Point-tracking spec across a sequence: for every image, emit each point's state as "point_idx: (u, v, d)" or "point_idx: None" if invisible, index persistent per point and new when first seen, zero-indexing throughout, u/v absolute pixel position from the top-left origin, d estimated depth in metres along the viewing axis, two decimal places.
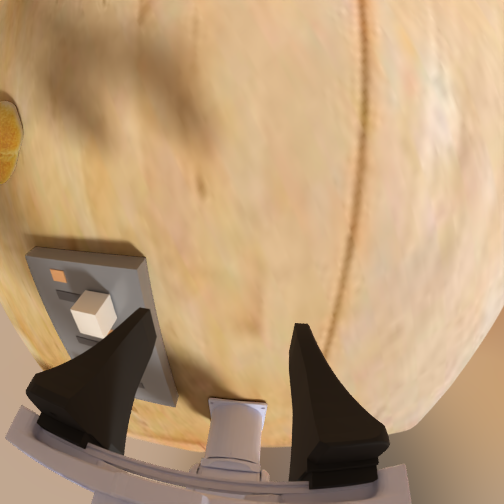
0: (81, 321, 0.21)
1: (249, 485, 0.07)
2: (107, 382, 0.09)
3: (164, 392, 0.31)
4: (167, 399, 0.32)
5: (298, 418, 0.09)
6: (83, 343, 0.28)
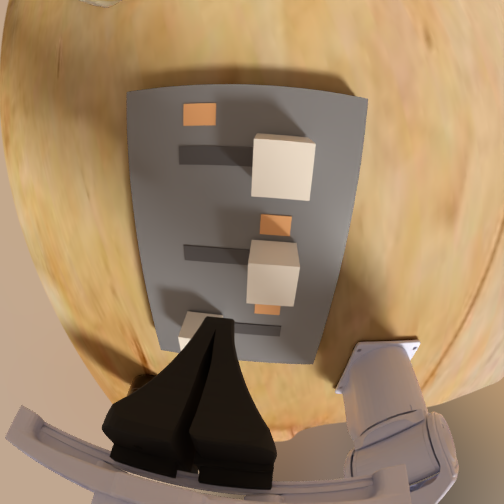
0: (270, 164, 0.13)
1: None
2: (193, 402, 0.09)
3: (312, 337, 0.23)
4: (308, 351, 0.24)
5: None
6: (195, 259, 0.20)
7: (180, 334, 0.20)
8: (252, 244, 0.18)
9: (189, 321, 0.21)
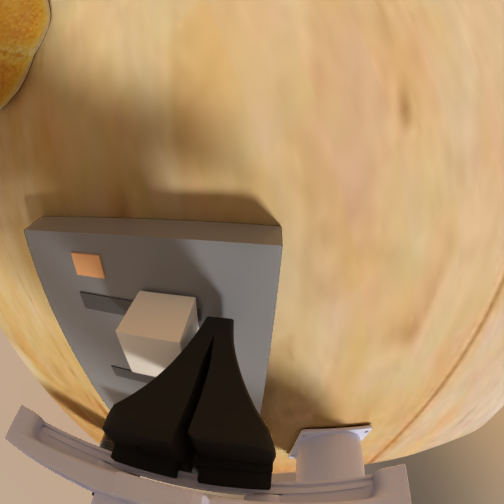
0: (139, 353, 0.11)
1: None
2: (195, 402, 0.09)
3: None
4: None
5: None
6: (124, 376, 0.18)
7: None
8: None
9: None
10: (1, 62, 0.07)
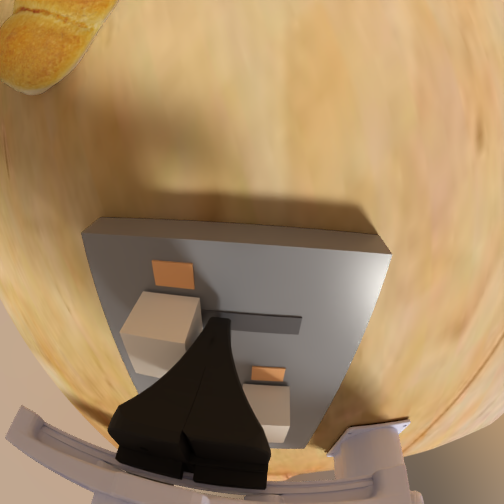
0: (143, 354, 0.11)
1: None
2: None
3: (303, 435, 0.21)
4: (300, 442, 0.22)
5: None
6: None
7: None
8: None
9: None
10: (60, 30, 0.07)
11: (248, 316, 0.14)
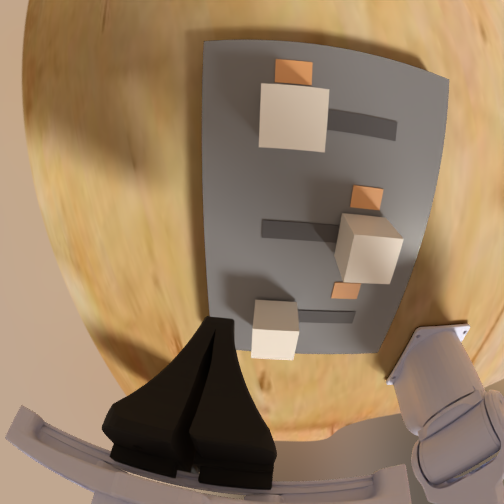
0: (280, 110, 0.11)
1: None
2: (193, 402, 0.09)
3: (383, 322, 0.21)
4: (376, 338, 0.22)
5: None
6: (274, 236, 0.18)
7: (254, 325, 0.18)
8: (346, 217, 0.16)
9: (260, 310, 0.19)
10: None
11: (355, 117, 0.14)
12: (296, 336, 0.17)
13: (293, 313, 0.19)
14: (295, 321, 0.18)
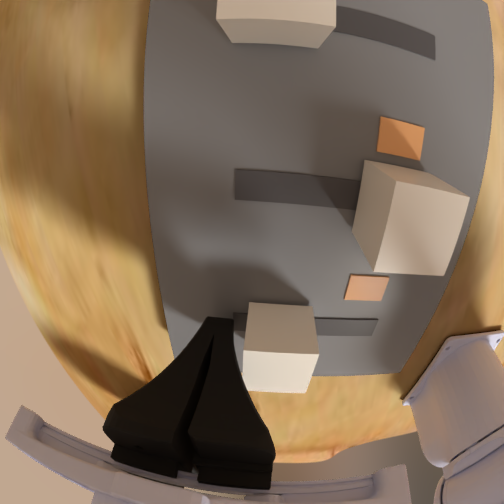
0: None
1: None
2: (194, 402, 0.09)
3: (412, 333, 0.14)
4: (401, 354, 0.15)
5: None
6: (255, 197, 0.11)
7: (247, 345, 0.11)
8: (372, 164, 0.09)
9: (257, 319, 0.12)
10: None
11: (375, 20, 0.07)
12: (313, 361, 0.11)
13: (308, 324, 0.12)
14: (311, 337, 0.11)
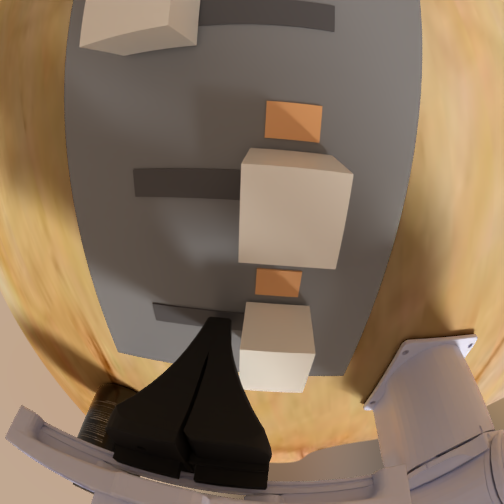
0: None
1: None
2: None
3: (347, 334, 0.14)
4: (339, 356, 0.15)
5: None
6: (152, 193, 0.11)
7: (243, 344, 0.11)
8: (251, 150, 0.09)
9: (254, 319, 0.12)
10: None
11: (261, 3, 0.07)
12: (310, 361, 0.11)
13: (305, 324, 0.12)
14: (308, 337, 0.11)
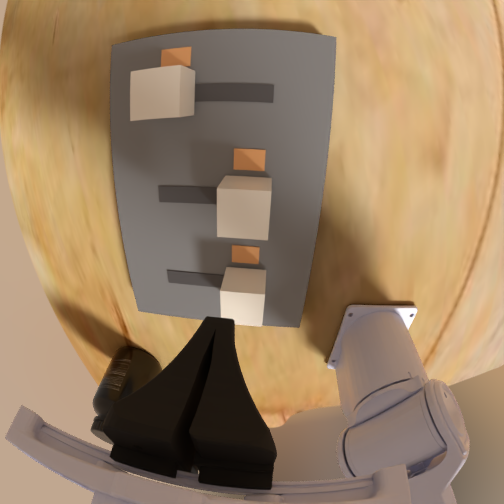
0: (143, 90, 0.12)
1: None
2: (193, 402, 0.09)
3: (296, 292, 0.22)
4: (293, 310, 0.23)
5: None
6: (169, 200, 0.19)
7: (222, 288, 0.19)
8: (225, 178, 0.17)
9: (230, 276, 0.20)
10: None
11: (230, 86, 0.15)
12: (262, 300, 0.19)
13: (261, 279, 0.20)
14: (262, 286, 0.19)
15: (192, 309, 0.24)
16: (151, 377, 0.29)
